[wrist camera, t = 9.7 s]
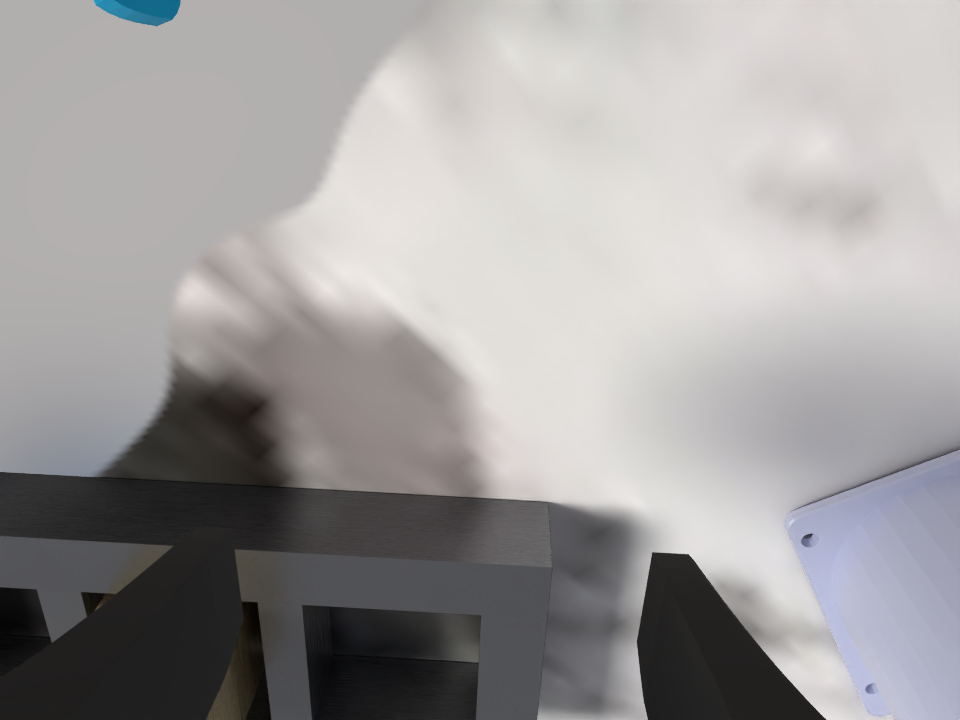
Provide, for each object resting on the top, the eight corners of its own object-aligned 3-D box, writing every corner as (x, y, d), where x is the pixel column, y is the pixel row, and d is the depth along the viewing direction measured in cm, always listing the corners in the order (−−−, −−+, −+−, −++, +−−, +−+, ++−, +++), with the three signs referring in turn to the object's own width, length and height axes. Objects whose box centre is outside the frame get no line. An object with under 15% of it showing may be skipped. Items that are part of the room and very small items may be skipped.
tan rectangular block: (268, 538, 25) (183, 723, 18) (279, 629, 26) (205, 827, 20) (147, 533, 25) (22, 715, 18) (166, 624, 26) (57, 819, 20)
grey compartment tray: (548, 502, 23) (552, 567, 21) (529, 704, 27) (530, 781, 25) (-142, 464, 24) (-225, 523, 21) (-64, 668, 28) (-127, 740, 25)
